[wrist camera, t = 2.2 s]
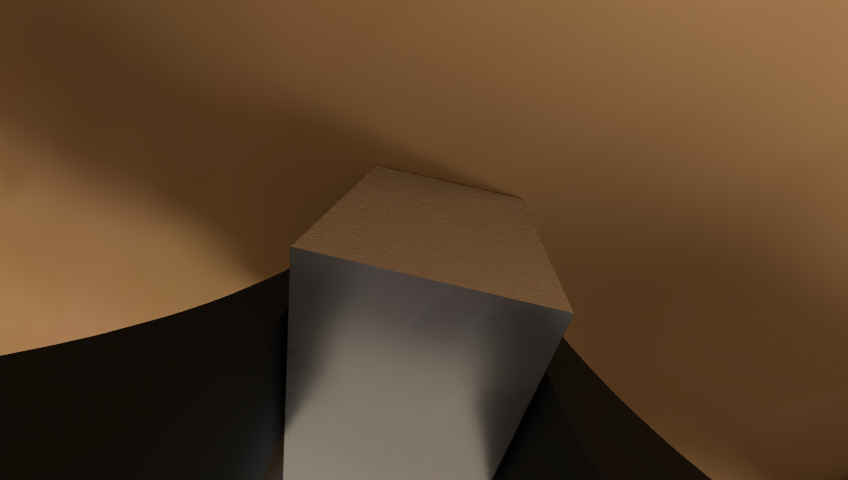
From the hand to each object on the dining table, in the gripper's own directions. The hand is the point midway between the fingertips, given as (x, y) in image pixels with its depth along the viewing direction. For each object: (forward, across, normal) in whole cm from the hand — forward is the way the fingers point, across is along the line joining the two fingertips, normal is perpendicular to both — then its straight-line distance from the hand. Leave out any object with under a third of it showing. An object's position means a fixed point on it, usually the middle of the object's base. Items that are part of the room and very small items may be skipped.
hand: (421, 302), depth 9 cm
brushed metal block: (+1, 0, 0) cm, 1 cm away
